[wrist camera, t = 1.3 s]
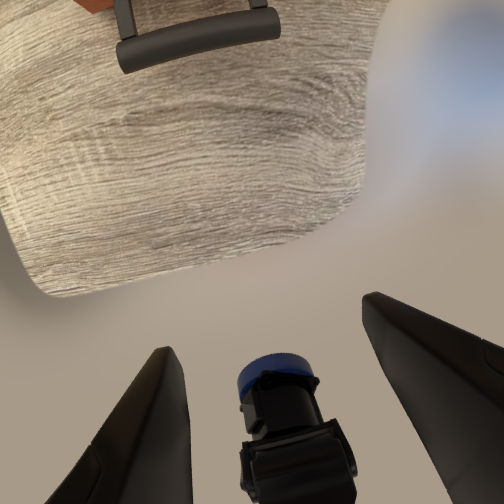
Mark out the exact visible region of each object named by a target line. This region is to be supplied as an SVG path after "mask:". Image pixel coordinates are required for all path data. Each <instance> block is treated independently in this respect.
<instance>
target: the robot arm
mask: <svg viewBox="0 0 504 504" xmlns="http://www.w3.org/2000/svg"><path fill="white" fill-rule="evenodd" d="M362 322H363V326H364V328H365V330H366V333H367V335H368V337H369V339H370V342H371V344H372V346H373V349H374V351H375V353H376V356H377V358H378V360H379V363H380V365H381V367H382V370H383V372H384V374H385V376H386V377H387V379H388V381H389V383H390V384H391V386H392V388H393V390H394V391H395V393H396V395H397V397H398V398H399V400H400V402H401V404H402V406H403V408H404V409H405V411H406V413H407V415H408V417H409V418H410V420H411V422H412V424H413V426H414V428H415V430H416V432H417V433H418V435H419V437H420V439H421V441H422V443H423V445H424V446H425V449H426V450H427V452H428V454H429V456H430V458H431V460H432V462H433V464H434V466H435V468H436V470H437V472H438V474H439V476H440V478H441V480H442V482H443V484H444V486H445V488H446V489H447V492H448V494H449V496H450V498H451V500H452V503H453V504H504V348H503V347H500V346H498V345H496V344H493V343H491V342H489V341H487V340H485V339H482V340H481V338H480V337H478V336H476V335H474V334H471V333H469V332H467V331H465V330H463V329H460V328H458V327H456V326H454V325H452V324H449V323H447V322H445V321H442V320H441V319H438V318H436V317H434V316H432V315H429V314H427V313H425V312H423V311H420V310H418V309H416V308H414V307H411V306H409V305H407V304H404V303H402V302H400V301H398V300H396V299H393V298H391V297H389V296H387V295H384V294H382V293H380V292H372V293H369V294H366V295H364V296H363V298H362ZM319 383H320V380H319V378H318V377H314V376H306V375H298V374H291V373H284V372H277V371H270V370H263V371H262V372H261V373H260V374H259V376H258V378H257V379H256V381H255V383H254V384H253V386H252V387H250V389H249V390H248V392H247V394H246V395H245V397H244V398H243V400H242V404H241V405H240V411H241V412H243V413H244V419H245V425H246V430H247V433H248V434H252V439H253V441H250V442H248V441H246V442H242V448H243V449H241V452H239V453H240V459H241V479H240V486H241V489H242V490H243V491H245V492H247V493H248V495H249V497H250V498H251V501H252V502H253V503H254V504H255V503H259V504H355V500H356V496H357V491H356V487H355V484H354V480H353V478H354V477H357V473H358V472H357V466H356V461H355V458H354V455H353V452H352V449H351V447H350V445H349V443H348V441H347V439H346V437H345V435H344V433H343V431H342V430H341V427H340V425H339V423H338V422H337V420H336V418H334V419H331V420H330V421H328V422H324V421H323V418H322V415H321V413H320V410H319V407H318V404H317V402H316V399H315V396H314V393H313V391H314V390H315V389H316V387H317V386H318V385H319ZM190 434H191V432H190V418H189V411H188V404H187V396H186V388H185V380H184V373H183V369H182V366H181V364H180V362H179V360H178V359H177V357H176V355H175V353H174V351H173V349H172V348H171V347H170V346H166V347H161V348H157V349H156V350H154V352H153V353H152V354H151V356H150V357H149V359H148V360H147V361H146V363H145V364H144V366H143V367H142V369H141V370H140V371H139V373H138V374H137V376H136V377H135V379H134V380H133V382H132V383H131V385H130V386H129V387H128V389H127V390H126V392H125V393H124V395H123V396H122V397H121V399H120V401H119V402H118V403H117V405H116V406H115V408H114V409H113V411H112V412H111V413H110V415H109V416H108V418H107V419H106V421H105V422H104V424H103V425H102V427H101V428H100V430H99V431H98V433H97V434H96V436H95V437H94V438H93V440H92V441H91V445H89V446H88V447H87V449H86V450H85V452H84V453H83V455H82V456H81V458H80V459H79V460H78V462H77V463H76V465H75V466H74V467H73V469H72V470H71V471H70V473H69V474H68V475H67V477H66V478H65V479H64V480H63V482H62V483H61V484H60V485H59V487H58V488H57V489H56V490H55V491H54V493H53V494H52V495H51V496H50V498H49V499H48V500H47V501H46V502H45V504H193V491H192V490H193V489H192V468H191V435H190Z"/></svg>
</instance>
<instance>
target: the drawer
mask: <svg viewBox="0 0 504 504" xmlns="http://www.w3.org/2000/svg"><path fill="white" fill-rule="evenodd" d="M73 1H75V2H76V3H78V4H79V5H81V6H82V7H83V8H85V9H86V10H88V11H89V12H91V13H92V14H94V13H96V12H99V11H101V10H104V9H106V8H109V7H112V6H114V8H115V14H116V19H117V24H118V29H119V33H120V38H121V40H122V41H121V42H118V43H117V45H116V54H117V59H118V62H119V65H120V67H121V69H122V71H123V72H124V74H129V73H132V72H135V71H138V70H141V69H144V68H148V67H151V66H154V65H157V64H161V63H164V62H168V61H171V60H175V59H178V58H182V57H186V56H190V55H194V54H198V53H202V52H207V51H211V50H216V49H220V48H225V47H230V46H236V45H241V44H247V43H253V42H259V41H266V40H274V39H278V38H279V37H280V34H281V24H280V19H279V16H278V13H277V11H276V9H275V8H273V7H267V6H268V3H267V0H248V1H249V5H250V9H251V10H244V11H237V12H231V13H226V14H220V15H215V16H210V17H205V18H201V19H196V20H192V21H188V22H184V23H180V24H176V25H172V26H168V27H165V28H161V29H158V30H154V31H151V32H148V33H145V34H142V35H138V32H137V28H136V23H135V18H134V13H133V9H132V4H131V0H73Z"/></svg>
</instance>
